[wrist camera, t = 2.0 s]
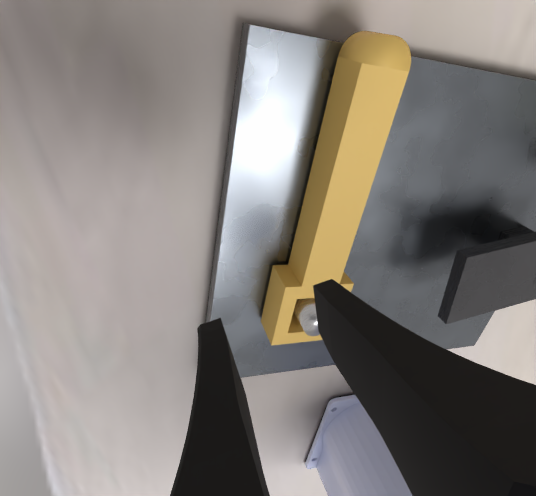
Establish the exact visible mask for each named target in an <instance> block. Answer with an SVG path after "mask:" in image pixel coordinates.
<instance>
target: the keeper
mask: <svg viewBox="0 0 536 496" xmlns="http://www.w3.org/2000/svg"><path fill="white" fill-rule="evenodd" d="M534 299H536V232H534V231H532V230H531V229H529V228H527V227H526V226H522V227H517V228H513V229H508V230H504V231H501V232H500V235H499V237H498V240H497V241H493V242H489V243H484V244H480V245H476V246H472V247H467V248H463V249H459V250H457V252H456V255H455V259H454V262H453V265H452V269H451V272H450V276H449V279H448V282H447V286H446V289H445V292H444V296H443V299H442V303H441V306H440V309H439V313H438V317H439V318H440V319H441V320H442V321H443V322H444V323H445V324H449V323H453V322H456V321H460V320H463V319H467V318H470V317H474V316H477V315H481V314H484V313H488V312H491V311H495V310H498V309H502V308H506V307H509V306H513V305H516V304H520V303H523V302H527V301H530V300H534Z"/></svg>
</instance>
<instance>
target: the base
mask: <svg viewBox="0 0 536 496" xmlns="http://www.w3.org/2000/svg"><path fill="white" fill-rule="evenodd" d="M343 44H344V43H343V42H337V41H332V40H327V39H322V38H317V37H312V36H307V35H302V34H297V33H292V32H287V31H281V30H276V29H271V28H266V27H261V26H256V25H251V24H246V23H243V27H242V35H241V43H240V51H239V59H238V67H237V75H236V83H235V91H234V99H233V107H232V115H231V123H230V131H229V139H228V147H227V155H226V163H225V171H224V179H223V187H222V195H221V203H220V211H219V219H218V227H217V235H216V243H215V251H214V259H213V267H212V275H211V283H210V290H209V298H208V306H207V314H206V322H205V323H207V322H210V321H213V320H215V319H218V318H221V320H222V323H223V326H224V329H225V333H226V336H227V339H228V342H229V345H230V348H231V351H232V354H233V357H234V360H235V363H236V366H237V369H238V372H239V375H240V378H242V377H249V376H256V375H264V374H271V373H278V372H285V371H293V370H300V369H307V368H314V367H322V366H329V365H336V364H335V363H334V361H333V360H332V358H331V356H330V354H329V352H328V350H327V348H326V346H325V344H324V342H323V340H317V341H308V342H299V343H290V344H281V345H272V346H271V343H270V341H269V339H268V337H267V334H266V332H265V330H264V328H263V325H262V323H261V318H262V313H263V308H264V304H265V299H266V295H267V290H268V285H269V281H270V276H271V272H272V267H273V265H288V263H289V259H290V255H291V251H292V246H293V242H294V238H295V234H296V230H297V226H298V221H299V217H300V213H301V209H302V205H303V201H304V196H305V192H306V188H307V184H308V180H309V175H310V171H311V167H312V163H313V159H314V155H315V150H316V146H317V142H318V138H319V134H320V130H321V125H322V121H323V117H324V113H325V109H326V105H327V100H328V96H329V92H330V88H331V84H332V80H333V75H334V71H335V67H336V63H337V59H338V55H339V52H340V49H341V47H342V45H343ZM522 226H526V227H527V228H529V229H531V230H532V231H534V232H536V80H531V79H526V78H521V77H516V76H511V75H506V74H500V73H495V72H490V71H485V70H480V69H475V68H470V67H465V66H460V65H455V64H450V63H444V62H439V61H434V60H429V59H424V58H419V57H414V56H411V66H410V70H409V73H408V77H407V80H406V83H405V86H404V89H403V92H402V95H401V98H400V101H399V104H398V107H397V110H396V113H395V116H394V119H393V122H392V125H391V128H390V132H389V135H388V138H387V141H386V144H385V147H384V150H383V153H382V156H381V159H380V162H379V165H378V168H377V171H376V174H375V177H374V180H373V183H372V186H371V190H370V193H369V196H368V199H367V202H366V205H365V208H364V211H363V214H362V217H361V220H360V223H359V226H358V229H357V232H356V235H355V238H354V241H353V244H352V248H351V251H350V254H349V257H348V260H347V263H346V266H345V269H344V272H345V273H346V274H347V276H348V277H349V278H350V279H351V281H352V282H353V283H354V285H353V288H352V291H351V293H353V294H354V295H355V296H357V297H358V298H360V299H361V300H363V301H364V302H366V303H367V304H368V305H370V306H371V307H373V308H375V309H376V310H378V311H379V312H381V313H382V314H384V315H385V316H387V317H389V318H390V319H392V320H393V321H395V322H397V323H398V324H400V325H402V326H403V327H405V328H407V329H409V330H410V331H412V332H414V333H416V334H417V335H419V336H421V337H423V338H425V339H426V340H428V341H430V342H432V343H434V344H436V345H438V346H440V347H442V348H444V349H452V348H459V347H466V346H474V345H475V343H476V342H477V340H478V338H479V337H480V335H481V333H482V332H483V330H484V328H485V327H486V325H487V323H488V322H489V320H490V318H491V316H492V315H493V313H494V311H491V312H488V313H484V314H481V315H477V316H474V317H470V318H467V319H463V320H460V321H456V322H453V323H449V324H445V323H444V322H443V321H442V320H441V319H440V318H439V317H438V313H439V309H440V306H441V303H442V299H443V296H444V292H445V289H446V286H447V282H448V279H449V276H450V272H451V269H452V265H453V262H454V259H455V255H456V252H457V250H459V249H463V248H467V247H472V246H476V245H480V244H484V243H489V242H493V241H497V240H498V237H499V235H500V232H501V231H504V230H508V229H513V228H517V227H522ZM293 312H294V313H295V315H296V317H297V319H298V321H299V322H300V324H301V326H302V328H303V330H304V331H305V333H306V334H307V335H309V336H318V335H320V333H319V331H318V323H317V315H316V306H315V298H305V299H297V300H296V304H295V308H294V311H293Z"/></svg>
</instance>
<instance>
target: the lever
mask: <svg viewBox="0 0 536 496" xmlns="http://www.w3.org/2000/svg"><path fill="white" fill-rule="evenodd" d="M410 66H411V53H410V49H409V47H408V45H407V43H406V42H405V41H404V40H403V39H402V38H400V37H398V36H394V35H388V34H382V33H376V32H370V31H360V32H357V33H355V34H353V35H351V36H350V37H349V38H348V39H347V40H346V41H345V42H344V44H343V45H342V47H341V49H340V52H339V55H338V59H337V63H336V67H335V71H334V75H333V80H332V84H331V88H330V92H329V96H328V100H327V105H326V109H325V113H324V117H323V121H322V125H321V130H320V134H319V138H318V142H317V146H316V150H315V155H314V159H313V163H312V167H311V171H310V175H309V180H308V184H307V188H306V192H305V196H304V201H303V205H302V209H301V213H300V217H299V221H298V226H297V230H296V234H295V238H294V242H293V246H292V251H291V255H290V259H289V263H288V265H273V267H272V272H271V276H270V281H269V285H268V290H267V295H266V299H265V304H264V308H263V313H262V318H261V323H262V325H263V328H264V330H265V332H266V334H267V337H268V339H269V341H270V343H271V346H272V345H281V344H290V343H299V342H308V341H317V340H322V338H321V335H318V336H309V335H307V334H306V333H305V331H304V330H303V328H302V326H301V324H300V322H299V321H298V319H297V317H296V315H295V313H294V312H293V311H294V308H295V304H296V300H297V299H305V298H314V290H313V285H316V284H318V283H321V282H324V281H327V280H330V279H333V280H335V281H336V282H337V283H339V284H340V285H342V286H343V287H344V288H346V289H347V290H348V291H350V292H351V291H352V288H353V285H354V283H353V282H352V281H351V279H350V278H349V277H348V276H347V274H346V273H345V272H344V269H345V266H346V263H347V260H348V257H349V254H350V251H351V248H352V244H353V241H354V238H355V235H356V232H357V229H358V226H359V223H360V220H361V217H362V214H363V211H364V208H365V205H366V202H367V199H368V196H369V193H370V190H371V186H372V183H373V180H374V177H375V174H376V171H377V168H378V165H379V162H380V159H381V156H382V153H383V150H384V147H385V144H386V141H387V138H388V135H389V132H390V128H391V125H392V122H393V119H394V116H395V113H396V110H397V107H398V104H399V101H400V98H401V95H402V92H403V89H404V86H405V83H406V80H407V77H408V73H409V70H410Z"/></svg>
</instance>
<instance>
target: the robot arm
mask: <svg viewBox="0 0 536 496" xmlns="http://www.w3.org/2000/svg"><path fill="white" fill-rule="evenodd" d="M313 290H314V298H315V306H316V315H317V323H318V331H319V333H320V335H321V338H322V340H323V342H324V344H325V346H326V348H327V350H328V352H329V354H330V356H331V358H332V360H333V361H334V363H335V364H336V366H337V368H338V369H339V371H340V372H341V374H342V375H343V377H344V378H345V380H346V381H347V383H348V385H349V386H350V388H351V389H352V391H353V392H354V394H355V395H349V396H344V397H338V398H333V399H331V400H330V401H329V403H328V405H327V408H326V411H325V413H324V416H323V419H322V421H321V424H320V426H319V429H318V432H317V434H316V437H315V440H314V442H313V445H312V447H311V450H310V453H309V455H308V458H307V461H306V463H305V465H306V468H307V469H312V468H317V470H318V473H319V475H320V478H321V480H322V482H323V485H324V487H325V489H326V492H327V494H328V496H536V385H534V384H531V383H528V382H525V381H522V380H519V379H516V378H513V377H511V376H508V375H505V374H503V373H500V372H498V371H495V370H493V369H490V368H488V367H485V366H482V365H480V364H477V363H475V362H472V361H470V360H468V359H466V358H463V357H461V356H459V355H457V354H455V353H452V352H450V351H448V350H446V349H444V348H442V347H440V346H438V345H436V344H434V343H432V342H430V341H428V340H426V339H425V338H423V337H421V336H419V335H417V334H416V333H414V332H412V331H410V330H409V329H407V328H405V327H403V326H402V325H400V324H398V323H397V322H395V321H393V320H392V319H390V318H389V317H387V316H385V315H384V314H382V313H381V312H379V311H378V310H376V309H375V308H373V307H371V306H370V305H368V304H367V303H366V302H364V301H363V300H361V299H360V298H358V297H357V296H355V295H354V294H353V293H351V292H350V291H348V290H347V289H346V288H344V287H343V286H342V285H340V284H339V283H337V282H336V281H335V280H333V279H330V280H327V281H324V282H321V283H318V284H316V285H313ZM170 496H270V495H269V492H268V488H267V485H266V481H265V478H264V474H263V470H262V466H261V461H260V457H259V452H258V448H257V443H256V439H255V434H254V430H253V425H252V421H251V416H250V412H249V407H248V403H247V398H246V394H245V391H244V388H243V385H242V381H241V378H240V375H239V372H238V369H237V366H236V363H235V360H234V357H233V354H232V351H231V348H230V345H229V342H228V339H227V336H226V333H225V329H224V326H223V323H222V320H221V318H218V319H215V320H213V321H210V322H207V323H204V324H201V325H200V326H199V327H198V366H197V375H196V384H195V392H194V399H193V404H192V410H191V416H190V421H189V426H188V431H187V436H186V440H185V444H184V448H183V452H182V456H181V460H180V464H179V467H178V471H177V474H176V478H175V481H174V484H173V488H172V491H171V494H170Z"/></svg>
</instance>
